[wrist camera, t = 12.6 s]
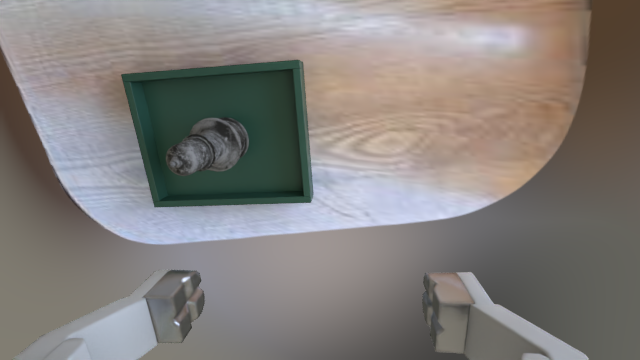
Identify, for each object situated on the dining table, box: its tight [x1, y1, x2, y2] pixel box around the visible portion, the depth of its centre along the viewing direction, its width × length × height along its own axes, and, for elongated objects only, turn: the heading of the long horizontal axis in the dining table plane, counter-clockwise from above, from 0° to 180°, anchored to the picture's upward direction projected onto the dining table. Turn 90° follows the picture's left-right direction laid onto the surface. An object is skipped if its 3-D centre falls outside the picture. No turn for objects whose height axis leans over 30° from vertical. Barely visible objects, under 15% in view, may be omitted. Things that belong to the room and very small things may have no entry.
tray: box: [121, 60, 313, 207], centre depth 35 cm, size 16×20×3 cm
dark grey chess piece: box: [166, 117, 249, 176], centre depth 30 cm, size 6×6×12 cm
